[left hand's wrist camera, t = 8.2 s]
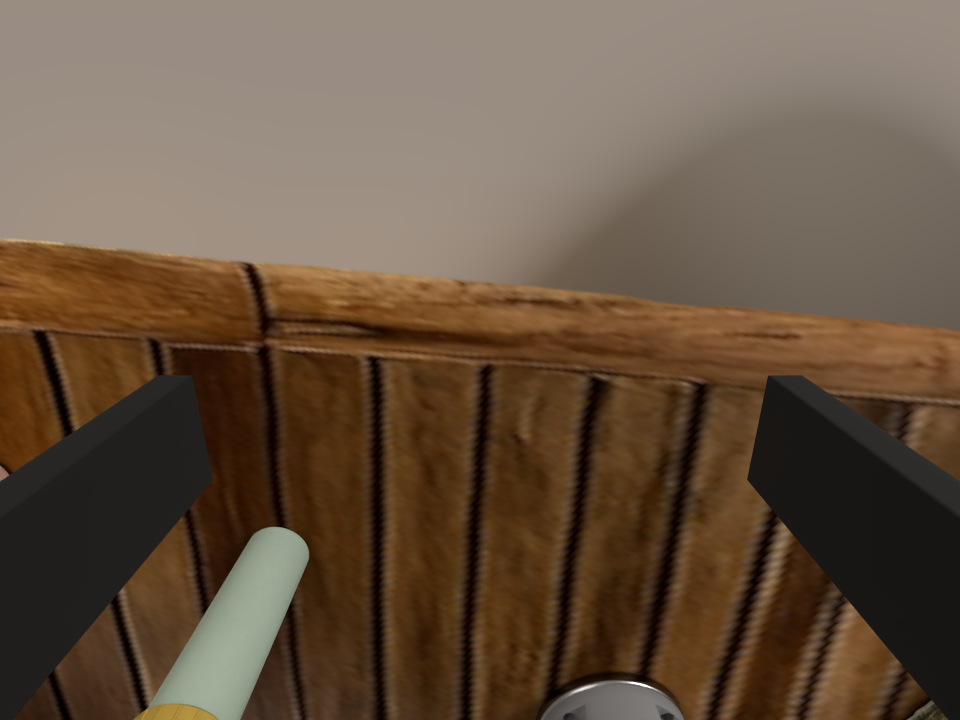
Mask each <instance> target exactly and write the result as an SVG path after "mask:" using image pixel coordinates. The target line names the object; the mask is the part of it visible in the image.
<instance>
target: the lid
mask: <svg viewBox="0 0 960 720" xmlns="http://www.w3.org/2000/svg"><path fill="white" fill-rule="evenodd" d="M134 720H219V719H217V718H216V717H215V716H213V715H212V714H210V713H208V712H206V711H204V710H202V709H199V708H196V707H193V706H189V705H183V704H163V705H157V706H154V707H151V708H149V709H146V710H145V711H143V712H142V713H141V714H140V715H138V716H137V717H135V718H134Z"/></svg>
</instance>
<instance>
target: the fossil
mask: <svg viewBox="0 0 960 720" xmlns="http://www.w3.org/2000/svg"><path fill="white" fill-rule="evenodd" d="M907 720H948V719H947V718H946V717H945V716H944V714H943V713H942V712H941V711H940V710H939V708H938V707H937V706H936V705H935V704H934V702H933V701H932V700H931V701H930V702H929V703H927V704H926V705H925V706H923V707H922V708H920V709H919V710H917V711H916V712H915V714H914V716H912V717H911V718H909V719H907Z"/></svg>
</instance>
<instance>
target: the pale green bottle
mask: <svg viewBox="0 0 960 720" xmlns="http://www.w3.org/2000/svg"><path fill="white" fill-rule="evenodd" d="M308 559H309V551H308V547H307V545H306V543H305V542H304V540H303V539H302V538H301V537H300V536H299V535H297V534H296V533H294V532H293V531H291V530H288V529H285V528H281V527H269V528H265V529H262V530H260V531H258V532H256V533H255V534H254V535H253V536H252V537H251V539H250V540H249V542H248V544H247V545H246V547H245V549H244V550H243V552H242V553H241V555H240V557H239V558H238V560H237V562H236V563H235V565H234V567H233V568H232V570H231V572H230V573H229V575H228V577H227V578H226V580H225V582H224V583H223V585H222V586H221V588H220V590H219V591H218V593H217V595H216V596H215V598H214V600H213V601H212V603H211V605H210V606H209V608H208V610H207V611H206V613H205V614H204V616H203V618H202V619H201V621H200V623H199V624H198V626H197V628H196V629H195V631H194V633H193V634H192V636H191V638H190V639H189V641H188V643H187V644H186V646H185V647H184V649H183V651H182V652H181V654H180V656H179V657H178V659H177V661H176V662H175V664H174V666H173V667H172V669H171V671H170V672H169V674H168V675H167V677H166V679H165V680H164V682H163V684H162V685H161V687H160V689H159V690H158V692H157V694H156V695H155V697H154V699H153V700H152V702H151V704H150V705H149V707H148V708H147V709H149V708H151V707H154V706H157V705H163V704H183V705H189V706H193V707H196V708H199V709H202V710H204V711H206V712H208V713H210V714H212V715H213V716H215V717H216V718H217V719H219V720H240V719H241V716H242V714H243V712H244V709H245V707H246V705H247V702H248V700H249V698H250V695H251V693H252V691H253V688H254V686H255V684H256V681H257V679H258V677H259V674H260V672H261V670H262V667H263V665H264V663H265V660H266V658H267V656H268V653H269V651H270V649H271V646H272V644H273V642H274V639H275V637H276V635H277V632H278V630H279V628H280V625H281V623H282V621H283V618H284V616H285V614H286V611H287V609H288V607H289V604H290V602H291V600H292V597H293V595H294V593H295V590H296V588H297V586H298V583H299V581H300V579H301V576H302V574H303V572H304V569H305V567H306V565H307V562H308Z"/></svg>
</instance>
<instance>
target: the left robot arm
mask: <svg viewBox="0 0 960 720" xmlns="http://www.w3.org/2000/svg"><path fill="white" fill-rule="evenodd" d="M212 480H213V478H212V473H211V468H210V463H209V458H208V453H207V448H206V443H205V439H204V434H203V429H202V424H201V419H200V414H199V409H198V404H197V399H196V394H195V389H194V384H193V379H192V376H157V377H155V378H154V379H152V380H151V381H149V382H148V383H146V384H145V385H143V386H142V387H140V388H139V389H137V390H136V391H134V392H133V393H131V394H130V395H128V396H127V397H125V398H124V399H122V400H121V401H119V402H118V403H116V404H115V405H113V406H112V407H110V408H109V409H107V410H106V411H104V412H103V413H101V414H100V415H98V416H97V417H95V418H94V419H93V420H91V421H90V422H88V423H87V424H85V425H84V426H82V427H81V428H79V429H78V430H76V431H75V432H73V433H72V434H70V435H69V436H67V437H66V438H64V439H63V440H61V441H60V442H58V443H57V444H55V445H54V446H52V447H51V448H49V449H48V450H46V451H45V452H43V453H42V454H40V455H39V456H37V457H36V458H34V459H33V460H31V461H30V462H28V463H27V464H25V465H24V466H22V467H21V468H19V469H18V470H16V471H15V472H13V473H12V474H10V475H9V476H7V477H6V478H4V479H3V480H1V481H0V720H12V719H13V718H14V717H15V716H16V714H17V713H18V712H19V711H20V710H21V708H22V707H23V706H24V705H25V704H26V702H27V701H28V700H29V699H30V698H31V696H32V695H33V694H34V693H35V692H36V690H37V689H38V688H39V687H40V686H41V684H42V683H43V682H44V681H45V680H46V678H47V677H48V676H49V675H50V674H51V672H52V671H53V670H54V669H55V668H56V666H57V665H58V664H59V663H60V662H61V661H62V659H63V658H64V657H65V656H66V655H67V653H68V652H69V651H70V650H71V649H72V647H73V646H74V645H75V644H76V643H77V641H78V640H79V639H80V638H81V637H82V635H83V634H84V633H85V632H86V631H87V629H88V628H89V627H90V626H91V625H92V623H93V622H94V621H95V620H96V619H97V617H98V616H99V615H100V614H101V613H102V612H103V610H104V609H105V608H106V607H107V606H108V604H109V603H110V602H111V601H112V600H113V598H114V597H115V596H116V595H117V594H118V592H119V591H120V590H121V589H122V588H123V586H124V585H125V584H126V583H127V582H128V580H129V579H130V578H131V577H132V576H133V574H134V573H135V572H136V571H137V570H138V568H139V567H140V566H141V565H142V564H143V562H144V561H145V560H146V559H147V558H148V557H149V555H150V554H151V553H152V552H153V551H154V549H155V548H156V547H157V546H158V545H159V543H160V542H161V541H162V540H163V539H164V537H165V536H166V535H167V534H168V533H169V531H170V530H171V529H172V528H173V527H174V525H175V524H176V523H177V522H178V521H179V519H180V518H181V517H182V516H183V515H184V513H185V512H186V511H187V510H188V509H189V508H190V506H191V505H192V504H193V503H194V502H195V500H196V499H197V498H198V497H199V496H200V494H201V493H202V492H203V491H204V490H205V488H206V487H207V486H208V485H209V484H210V482H211V481H212ZM747 480H748V481H749V482H750V484H751V485H752V486H753V487H754V488H755V490H756V491H757V492H758V493H759V494H760V496H761V497H762V498H763V499H764V500H765V502H766V503H767V504H768V505H769V506H770V508H771V509H772V510H773V511H774V512H775V513H776V515H777V516H778V517H779V518H780V519H781V521H782V522H783V523H784V524H785V525H786V527H787V528H788V529H789V530H790V531H791V533H792V534H793V535H794V536H795V537H796V539H797V540H798V541H799V542H800V543H801V545H802V546H803V547H804V548H805V549H806V551H807V552H808V553H809V554H810V555H811V557H812V558H813V559H814V560H815V561H816V563H817V564H818V565H819V566H820V567H821V568H822V570H823V571H824V572H825V573H826V574H827V576H828V577H829V578H830V579H831V580H832V582H833V583H834V584H835V585H836V586H837V588H838V589H839V590H840V591H841V592H842V594H843V595H844V596H845V597H846V598H847V600H848V601H849V602H850V603H851V604H852V606H853V607H854V608H855V609H856V610H857V612H858V613H859V614H860V615H861V616H862V617H863V619H864V620H865V621H866V622H867V623H868V625H869V626H870V627H871V628H872V629H873V631H874V632H875V633H876V634H877V635H878V637H879V638H880V639H881V640H882V641H883V643H884V644H885V645H886V646H887V647H888V649H889V650H890V651H891V652H892V653H893V655H894V656H895V657H896V658H897V659H898V661H899V662H900V663H901V664H902V665H903V666H904V668H905V669H906V670H907V671H908V672H909V674H910V675H911V676H912V677H913V678H914V680H915V681H916V682H917V683H918V684H919V686H920V687H921V688H922V689H923V690H924V692H925V693H926V694H927V695H928V696H929V698H930V699H931V700H932V701H933V702H934V704H935V705H936V706H937V707H938V708H939V710H940V711H941V712H942V713H943V714H944V716H945V717H946V718H947V719H948V720H960V481H959V480H957V479H956V478H954V477H953V476H951V475H950V474H948V473H947V472H945V471H944V470H942V469H941V468H939V467H938V466H936V465H935V464H933V463H932V462H930V461H929V460H927V459H926V458H924V457H923V456H921V455H920V454H918V453H917V452H915V451H914V450H912V449H911V448H909V447H908V446H906V445H905V444H903V443H902V442H900V441H899V440H897V439H896V438H894V437H893V436H891V435H890V434H888V433H887V432H885V431H884V430H882V429H881V428H879V427H878V426H876V425H875V424H873V423H872V422H870V421H869V420H867V419H866V418H865V417H863V416H862V415H860V414H859V413H857V412H856V411H854V410H853V409H851V408H850V407H848V406H847V405H845V404H844V403H842V402H841V401H839V400H838V399H836V398H835V397H833V396H832V395H830V394H829V393H827V392H826V391H824V390H823V389H821V388H820V387H818V386H817V385H815V384H814V383H812V382H811V381H809V380H808V379H806V378H805V377H803V376H768V379H767V384H766V389H765V394H764V399H763V404H762V409H761V414H760V419H759V424H758V429H757V434H756V438H755V443H754V448H753V453H752V458H751V463H750V468H749V473H748V478H747ZM536 720H685V719H684V716H683V713H682V710H681V708H680V705H679V703H678V701H677V700H676V698H675V697H674V696H673V695H672V693H671V692H669V691H668V690H667V689H666V688H665V687H663V686H662V685H660V684H659V683H657V682H655V681H653V680H651V679H648V678H645V677H642V676H638V675H633V674H626V673H603V674H596V675H591V676H587V677H584V678H581V679H578V680H576V681H573V682H571V683H569V684H567V685H565V686H564V687H562V688H560V689H559V690H557V691H556V692H555V693H554V694H553V695H551V696H550V697H549V698H548V699H547V701H546V702H545V703H544V704H543V706H542V707H541V709H540V711H539V713H538V715H537V719H536Z"/></svg>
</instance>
